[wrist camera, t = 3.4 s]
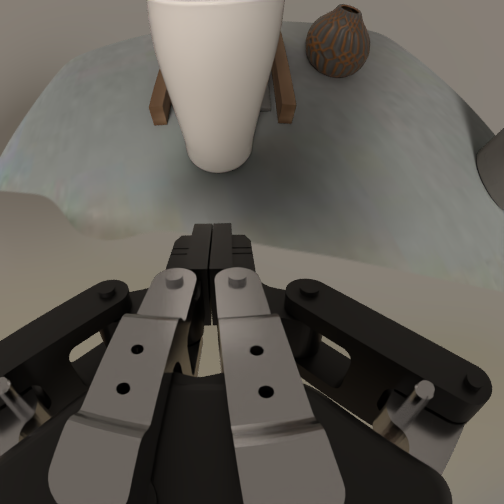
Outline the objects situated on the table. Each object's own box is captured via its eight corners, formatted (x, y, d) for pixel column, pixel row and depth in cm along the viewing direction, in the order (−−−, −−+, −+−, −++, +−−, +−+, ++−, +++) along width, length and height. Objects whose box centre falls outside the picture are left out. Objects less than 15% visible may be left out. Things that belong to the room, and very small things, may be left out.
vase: (366, 88, 27) (394, 31, 19) (310, 84, 26) (330, 18, 18) (345, 54, 29) (365, 2, 20) (294, 50, 28) (307, -9, 20)
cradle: (277, 42, 28) (279, 26, 26) (291, 123, 24) (296, 105, 22) (175, 43, 27) (173, 27, 25) (154, 125, 23) (148, 107, 21)
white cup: (177, 187, 22) (128, 14, 7) (180, 122, 24) (156, -29, 9) (264, 182, 22) (302, 5, 8) (256, 118, 24) (276, -35, 10)
